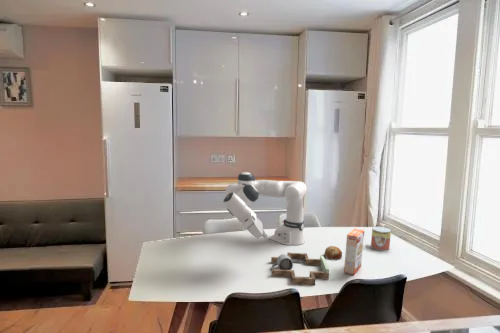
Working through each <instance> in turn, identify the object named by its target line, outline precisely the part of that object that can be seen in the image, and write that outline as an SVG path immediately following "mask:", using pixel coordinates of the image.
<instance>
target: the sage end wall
mask: <svg viewBox="0 0 500 333" xmlns="http://www.w3.org/2000/svg"><path fill="white" fill-rule="evenodd" d="M324 256H325V255H320V258H319V259H320V260H321V264H320V265H319V266H320V268H321V270H322V271H321V272H326V273H329V274H330V268H329V265H328V263H327V261H326V259H325V257H324Z"/></svg>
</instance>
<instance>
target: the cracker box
mask: <svg viewBox="0 0 500 333" xmlns="http://www.w3.org/2000/svg"><path fill="white" fill-rule="evenodd" d="M364 238H365V230H364V229H358V228H353V229H352V230H351V231H350V232H348V233H347V235H346V241H345V243H346V244H345V254H344V255H345V256H344V257H345V258H344V266H343V273H345V274H349V275H353V276H354V275H355V274H356V273H357V272H358V271H359V270H360V269H361V267H362V259H363V250H364V249H363V248H364V240H365V239H364Z"/></svg>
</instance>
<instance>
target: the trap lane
mask: <svg viewBox="0 0 500 333" xmlns="http://www.w3.org/2000/svg"><path fill="white" fill-rule="evenodd" d="M286 255H287V256H289V257H290V259H291V260H292V262H293V264H305V266H320V264H321V260H320V258H309V256H308V254H307V253H303V252H302V253H301V252H287V254H286ZM278 257H279V256H271V257H270V258H271V259H270V264H274V263H276V262H277V258H278ZM295 274H296V273H295V270H293V269H291V270H280V269H272V268H271V276H272V277H284V278H290V279H291V284H292V285H307V286H308V285H309V286H310V285H311V286H315V285H316V279H325V280H329V279H330V272H329V273H326V272H323V271H320V270H319V271H318V270H317V271H316V270H310V271H309V276H296V275H295Z"/></svg>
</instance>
